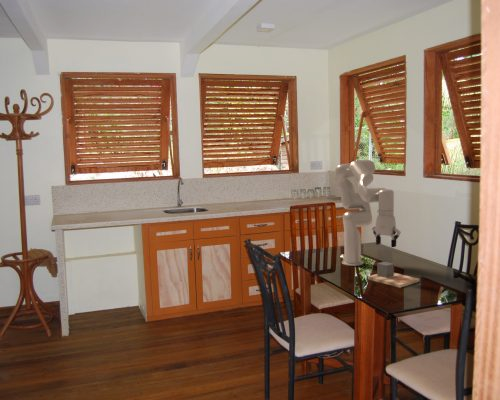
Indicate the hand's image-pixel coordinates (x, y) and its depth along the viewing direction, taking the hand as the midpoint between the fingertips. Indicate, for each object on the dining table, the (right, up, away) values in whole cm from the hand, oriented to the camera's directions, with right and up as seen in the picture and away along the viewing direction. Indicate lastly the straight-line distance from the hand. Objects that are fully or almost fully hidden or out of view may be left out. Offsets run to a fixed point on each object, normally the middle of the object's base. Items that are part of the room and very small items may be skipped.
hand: (385, 245), depth 254 cm
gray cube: (0, -16, +2) cm, 16 cm away
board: (+3, -18, -2) cm, 18 cm away
